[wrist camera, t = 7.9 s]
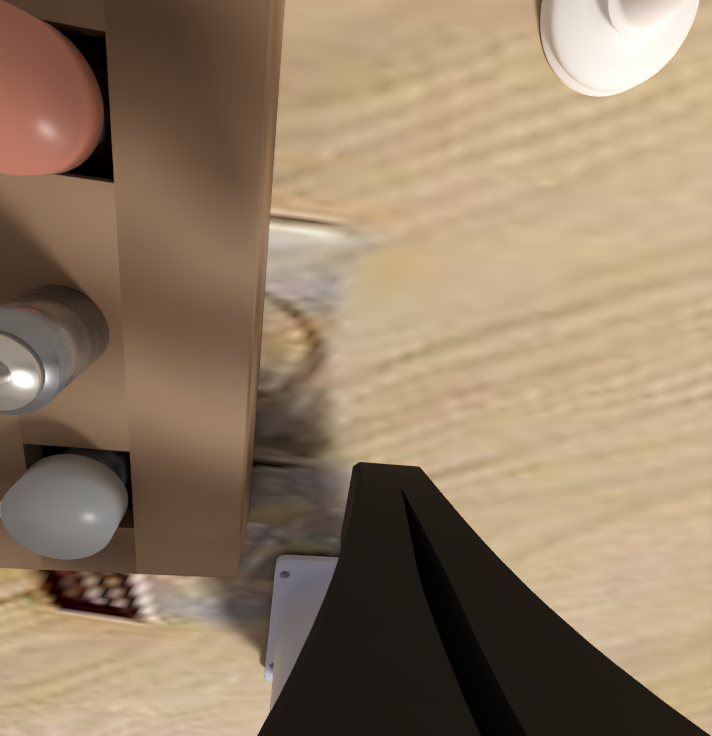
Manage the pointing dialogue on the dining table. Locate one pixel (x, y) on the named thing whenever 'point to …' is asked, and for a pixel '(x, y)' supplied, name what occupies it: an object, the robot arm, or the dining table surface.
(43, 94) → the knob red
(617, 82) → the chess piece
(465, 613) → the robot arm
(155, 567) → the mount
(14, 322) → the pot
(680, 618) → the dining table surface
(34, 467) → the knob grey
